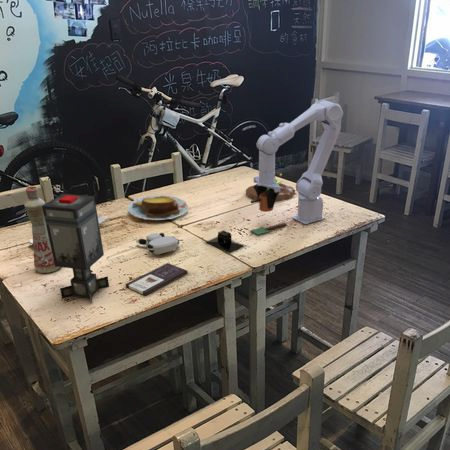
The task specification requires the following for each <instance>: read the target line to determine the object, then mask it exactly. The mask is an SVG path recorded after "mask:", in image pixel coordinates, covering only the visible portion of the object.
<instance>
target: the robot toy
mask: <svg viewBox="0 0 450 450" xmlns="http://www.w3.org/2000/svg"><path fill="white" fill-rule="evenodd" d="M180 242H184V239H179V238H177V237H174V236H172V235H165V233H164V232H160V233H158V232H153V233H150V234H147V235H146V236H145V238H139V239H137V240H135V243H137V244H139V245H142V246H145V245H146V247H147V248H146V250H147V251H149V252H151V253H153V254H155V255H161V254H165V253H169V252H171V251H174V250H176V249H177V248H179V246H180Z"/></svg>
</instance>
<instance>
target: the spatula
mask: <svg viewBox="0 0 450 450" xmlns="http://www.w3.org/2000/svg"><path fill="white" fill-rule="evenodd" d="M284 227H287V223H285V222H282V223H278V224H274V225H270V226H267V227H264V226H261V227H258V228H253V229H250V231H249V232H250V233H251V234H254V235H255V236H256V237H258V236H263V235H267V234H270V233H271V231H273V230H277V229H280V228H284Z"/></svg>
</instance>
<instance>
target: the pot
mask: <svg viewBox="0 0 450 450" xmlns="http://www.w3.org/2000/svg"><path fill="white" fill-rule="evenodd" d="M255 203H258V210H259V211H261V212H271V211H274V207H273V208H270V209H269V208H268V206H267V197H266V194H265V192H262V193H260V195H259V199H256V200H254V199H251V200H250V204H255Z"/></svg>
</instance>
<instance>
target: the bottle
mask: <svg viewBox="0 0 450 450" xmlns="http://www.w3.org/2000/svg"><path fill="white" fill-rule="evenodd" d="M25 192H26V193H25V194H26V196H27V200H26V201H25V202H24V205H23V206H24V208H25V211H26V214H27V217H28V219H29V221H30V225H31V233H32V234H31V235H32V238H33V245H32V247H33V250H32V252H33V265H34V268H35V271H37V272H38V273H40V274H41V273H42V274H48V273H54V272H56V271H58V270H61V268H62V267H57V266H55V263H54V259H53V254H52V250H51V245H50V240H49V236H48V231H47V227H46V222H45V218H44V213H43V209H42V206H43V205H45V204H46V202H45V200H43V199H42V198H40V195H39V188H38V187H37V186H32V185H30V186H27V187H26V188H25Z"/></svg>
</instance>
